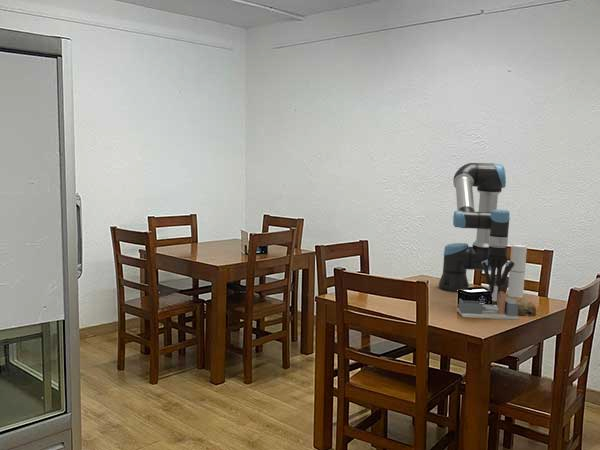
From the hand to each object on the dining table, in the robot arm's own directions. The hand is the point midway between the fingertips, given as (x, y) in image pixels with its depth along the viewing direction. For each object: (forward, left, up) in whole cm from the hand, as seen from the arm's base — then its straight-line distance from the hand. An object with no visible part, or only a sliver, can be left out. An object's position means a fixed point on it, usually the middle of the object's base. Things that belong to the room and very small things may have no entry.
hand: (494, 300), depth 264 cm
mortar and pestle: (-22, +9, -7) cm, 25 cm away
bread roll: (-6, +15, -7) cm, 17 cm away
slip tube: (0, +1, -5) cm, 5 cm away
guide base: (0, -3, -6) cm, 7 cm away
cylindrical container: (-39, +22, -7) cm, 45 cm away
